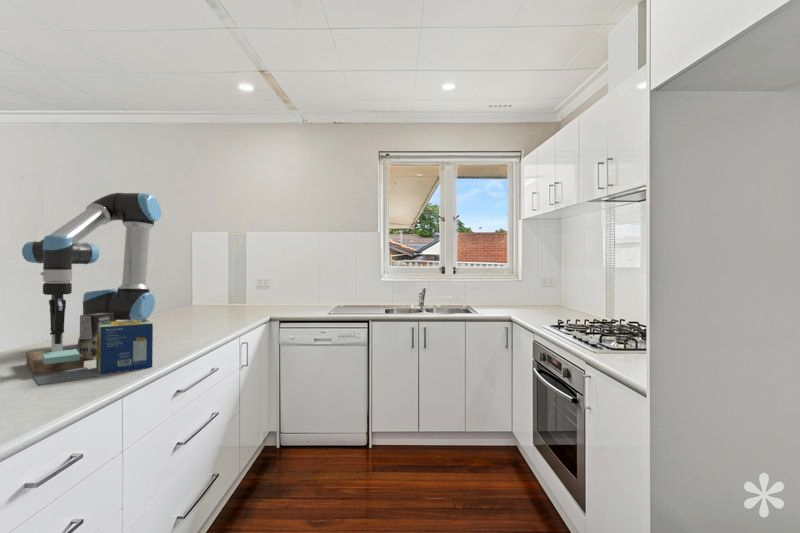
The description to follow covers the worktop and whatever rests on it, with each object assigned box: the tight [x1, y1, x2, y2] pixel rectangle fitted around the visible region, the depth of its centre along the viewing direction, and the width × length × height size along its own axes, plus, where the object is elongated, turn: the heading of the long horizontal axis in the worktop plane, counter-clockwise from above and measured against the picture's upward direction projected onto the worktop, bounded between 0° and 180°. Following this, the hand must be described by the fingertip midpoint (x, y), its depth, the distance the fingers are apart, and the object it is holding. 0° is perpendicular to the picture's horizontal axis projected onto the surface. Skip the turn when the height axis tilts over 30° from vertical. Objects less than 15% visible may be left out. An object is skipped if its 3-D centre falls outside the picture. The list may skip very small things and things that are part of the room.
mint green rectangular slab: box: [42, 348, 80, 364], centre depth 142 cm, size 9×6×2 cm, turn 136°
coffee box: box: [78, 313, 114, 361], centre depth 163 cm, size 9×6×16 cm
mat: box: [31, 366, 97, 386], centre depth 138 cm, size 14×14×1 cm
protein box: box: [95, 318, 154, 375], centre depth 149 cm, size 10×15×16 cm
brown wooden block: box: [25, 347, 85, 375], centre depth 149 cm, size 13×18×4 cm
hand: (57, 353), depth 145 cm, fingers closed
